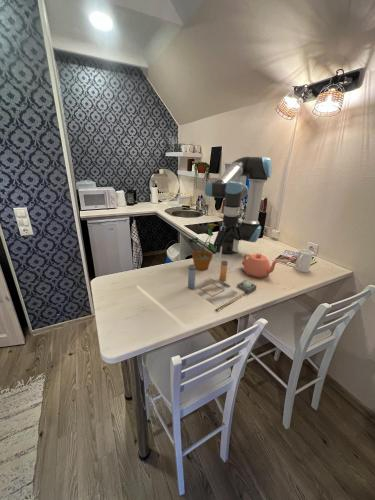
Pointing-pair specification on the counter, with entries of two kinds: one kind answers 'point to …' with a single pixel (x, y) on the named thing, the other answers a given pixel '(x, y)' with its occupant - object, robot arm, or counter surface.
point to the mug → (303, 260)
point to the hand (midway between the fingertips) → (227, 254)
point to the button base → (248, 290)
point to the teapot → (258, 265)
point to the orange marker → (223, 270)
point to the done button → (247, 284)
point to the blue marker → (191, 277)
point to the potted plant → (203, 252)
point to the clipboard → (216, 292)
